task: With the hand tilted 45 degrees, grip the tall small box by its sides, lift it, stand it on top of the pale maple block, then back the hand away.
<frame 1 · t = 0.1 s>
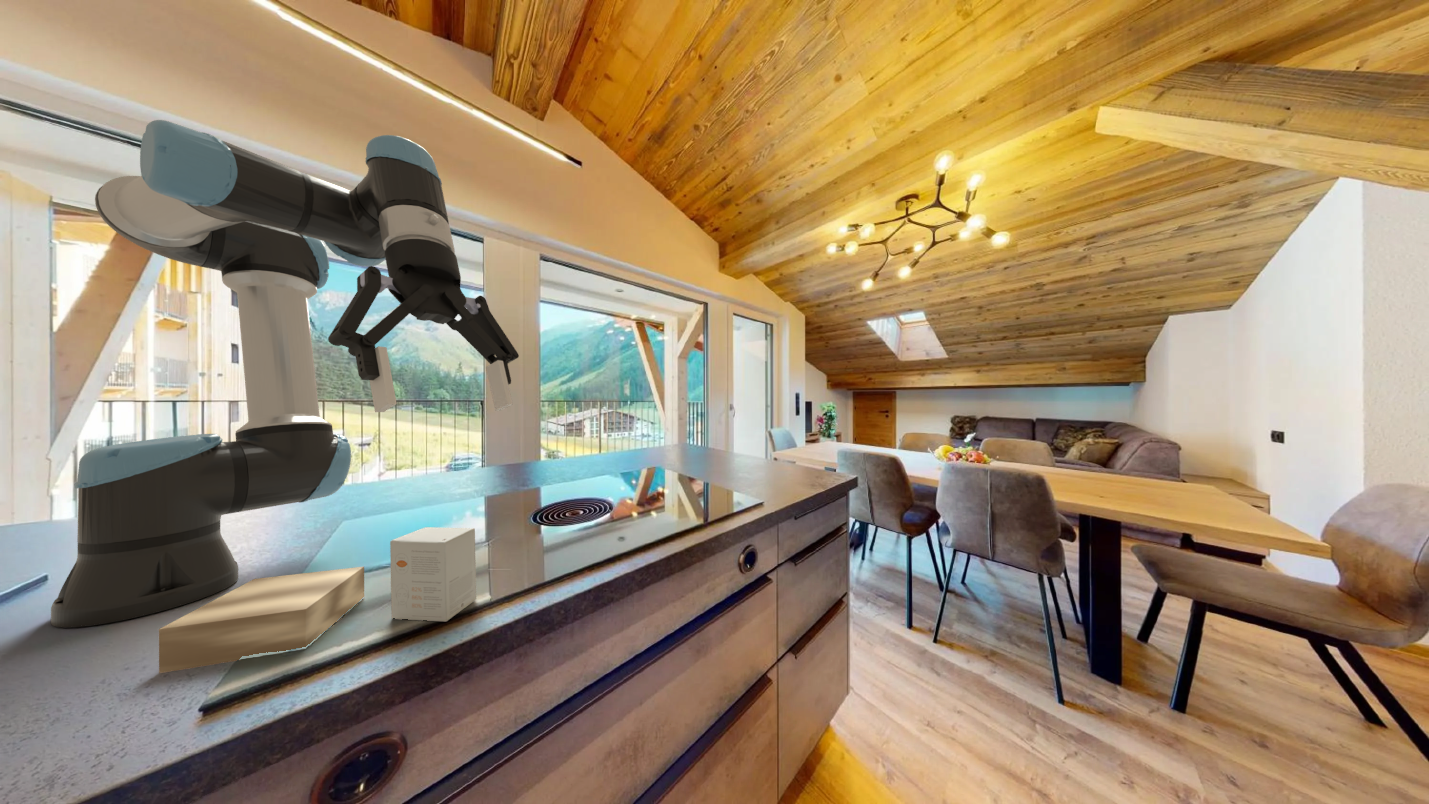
hand: (452, 408, 46), 28 cm above the worktop, tool tilted 20°, fingers open, 13 cm apart
maple block: (278, 632, 47), on the worktop
small box: (435, 611, 52), on the worktop
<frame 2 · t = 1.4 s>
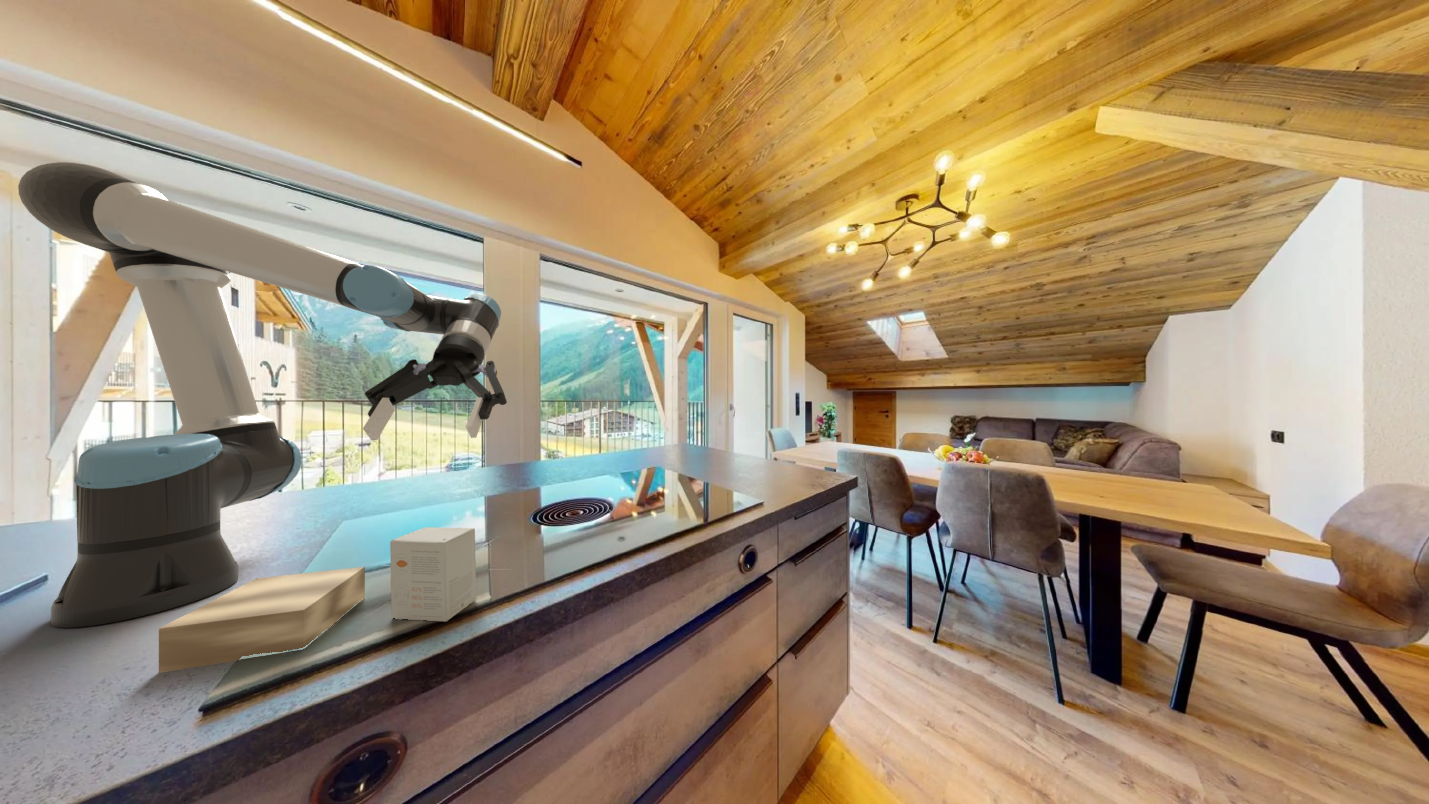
hand: (421, 433, 58), 24 cm above the worktop, tool tilted 45°, fingers open, 13 cm apart
nothing on the worktop moved.
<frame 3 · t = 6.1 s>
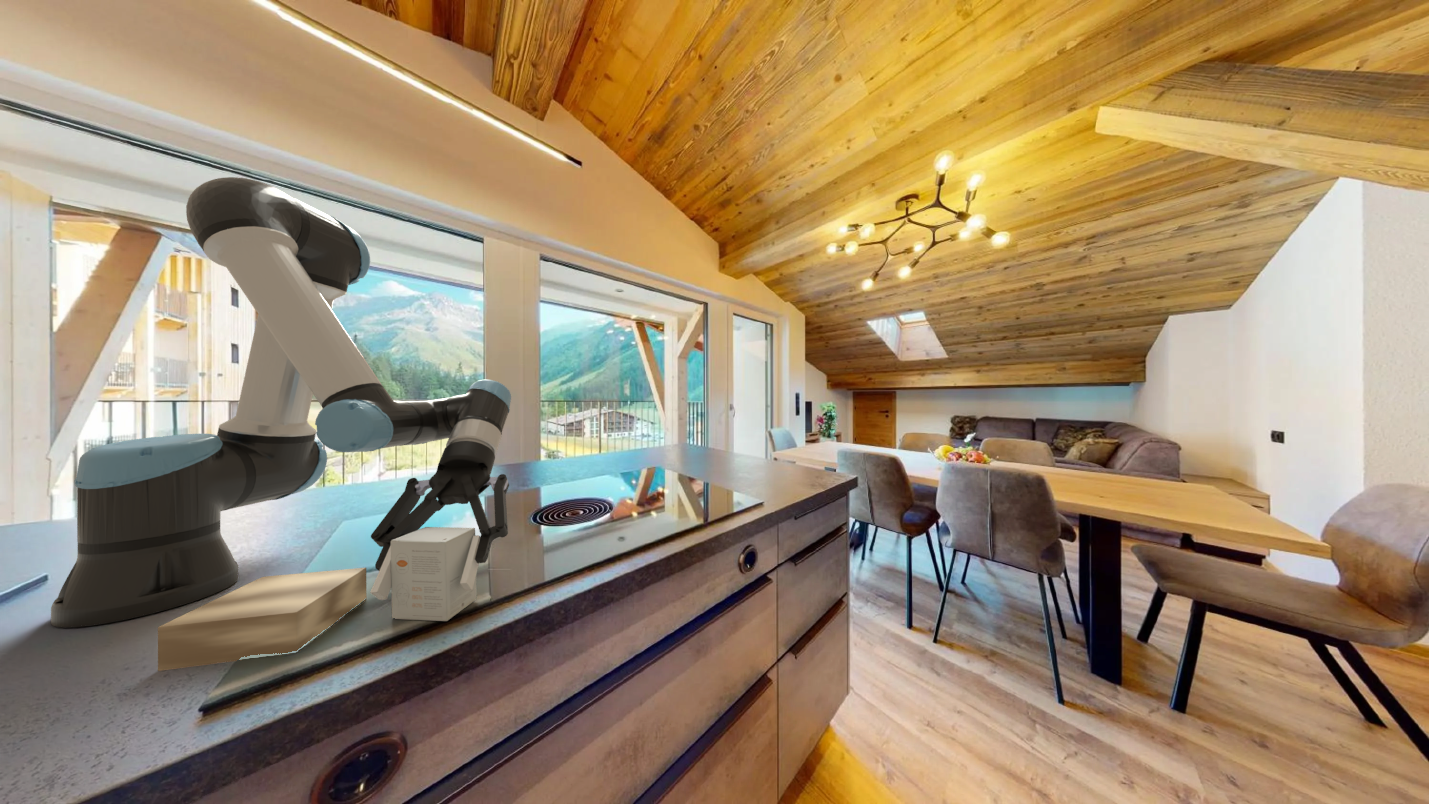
hand: (423, 591, 49), 4 cm above the worktop, tool tilted 45°, fingers closed on small box, 9 cm apart
small box: (435, 611, 52), on the worktop, touching gripper
everything else where it was.
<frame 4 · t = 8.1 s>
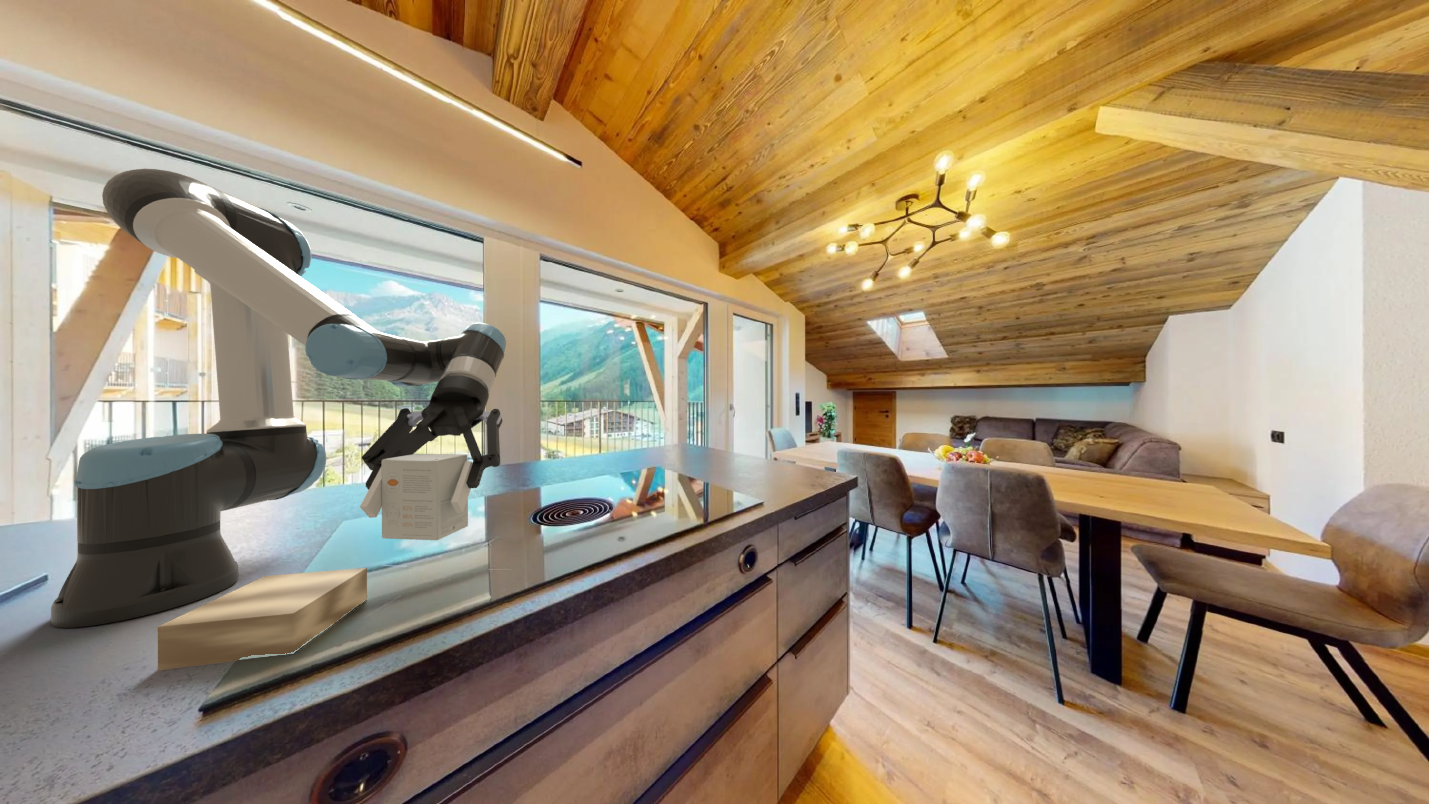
hand: (413, 509, 49), 15 cm above the worktop, tool tilted 45°, fingers closed on small box, 9 cm apart
small box: (426, 534, 52), point 10 cm above the worktop, touching gripper
everything else where it was.
when the fingers open (10 cm above the worktop, at t = 10.5 s): small box drops 2 cm, resting on maple block.
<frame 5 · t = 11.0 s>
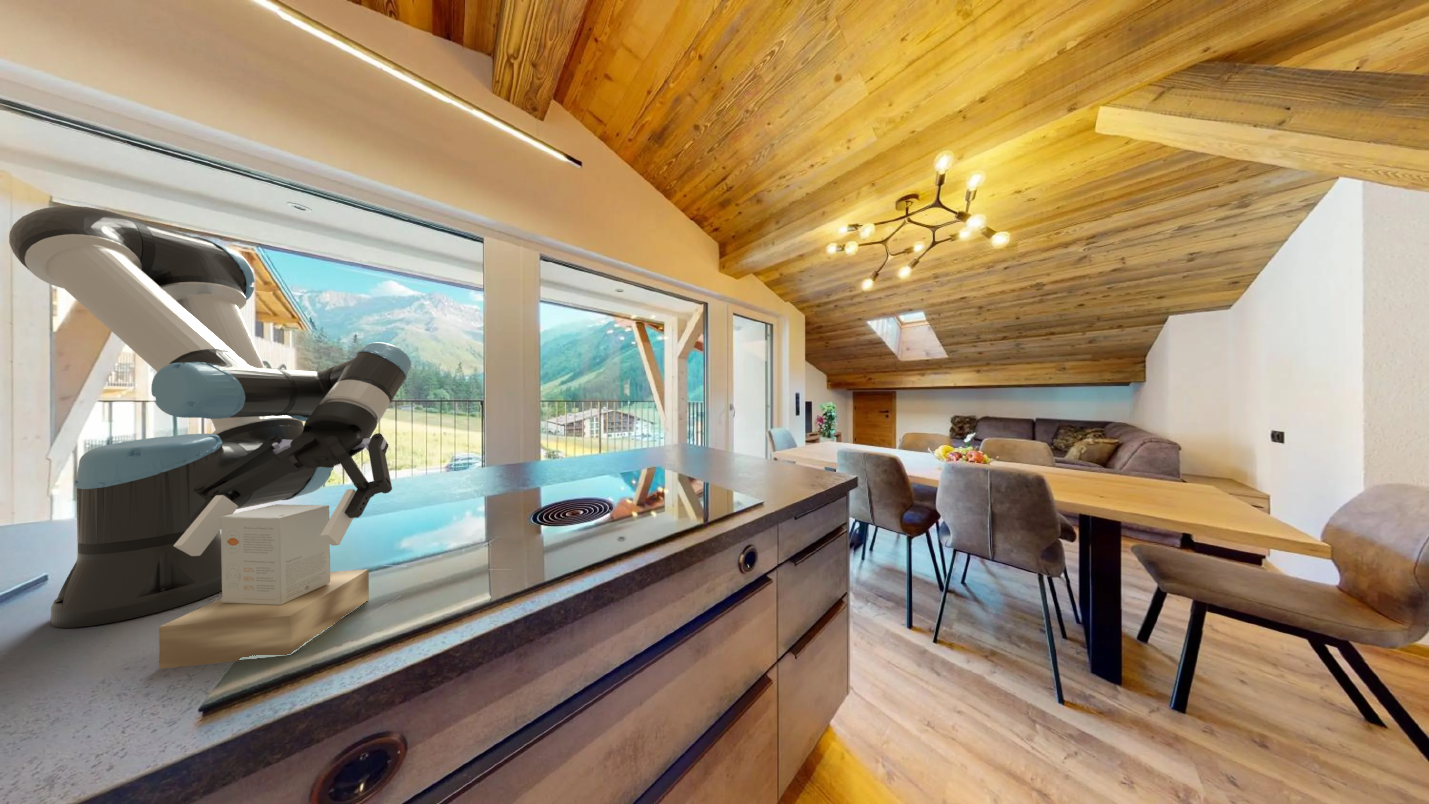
hand: (260, 545, 45), 11 cm above the worktop, tool tilted 45°, fingers open, 13 cm apart
maple block: (279, 633, 47), on the worktop, touching small box
small box: (278, 594, 48), point 4 cm above the worktop, touching maple block
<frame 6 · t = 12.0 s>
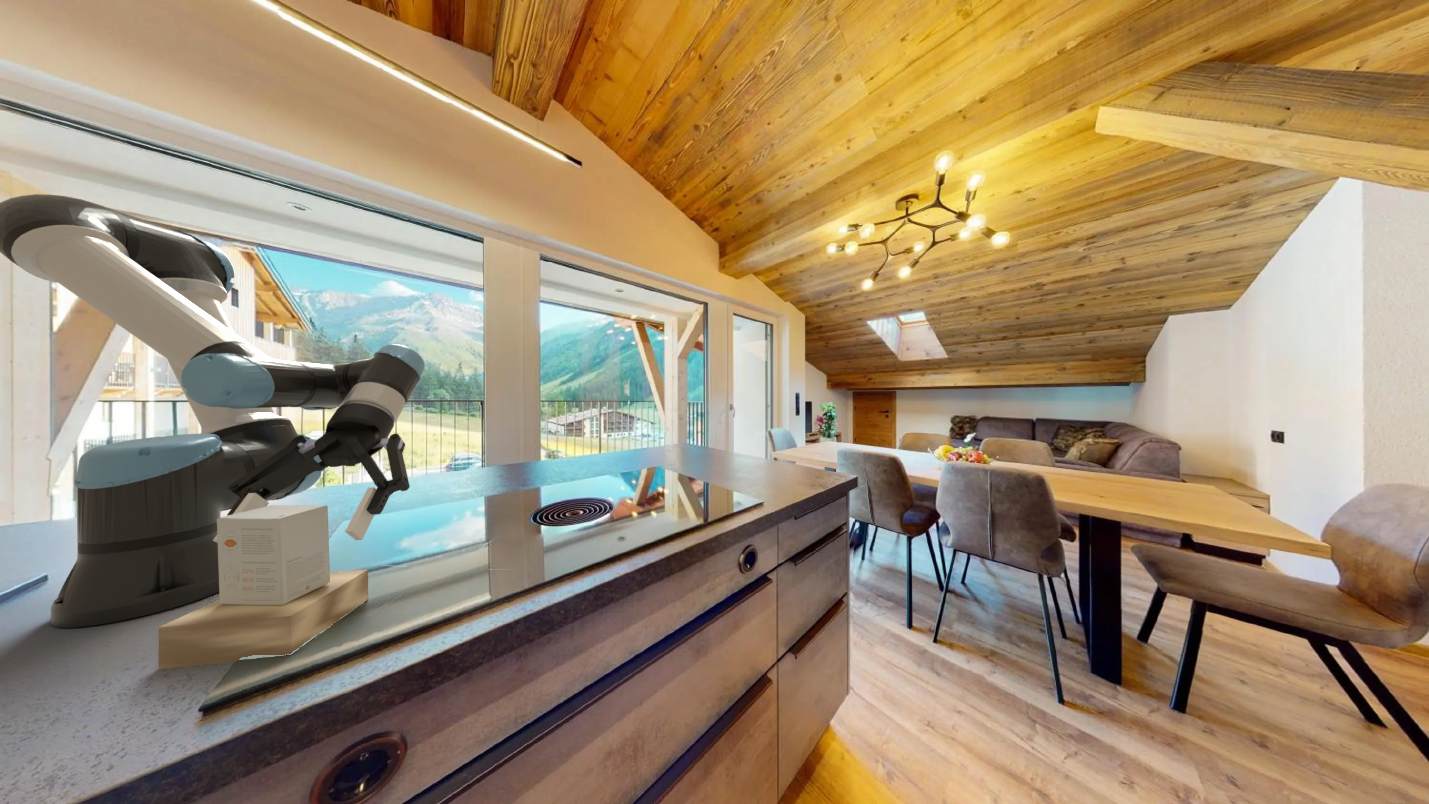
hand: (291, 540, 49), 11 cm above the worktop, tool tilted 45°, fingers open, 13 cm apart
maple block: (278, 633, 47), on the worktop
small box: (277, 595, 47), point 4 cm above the worktop
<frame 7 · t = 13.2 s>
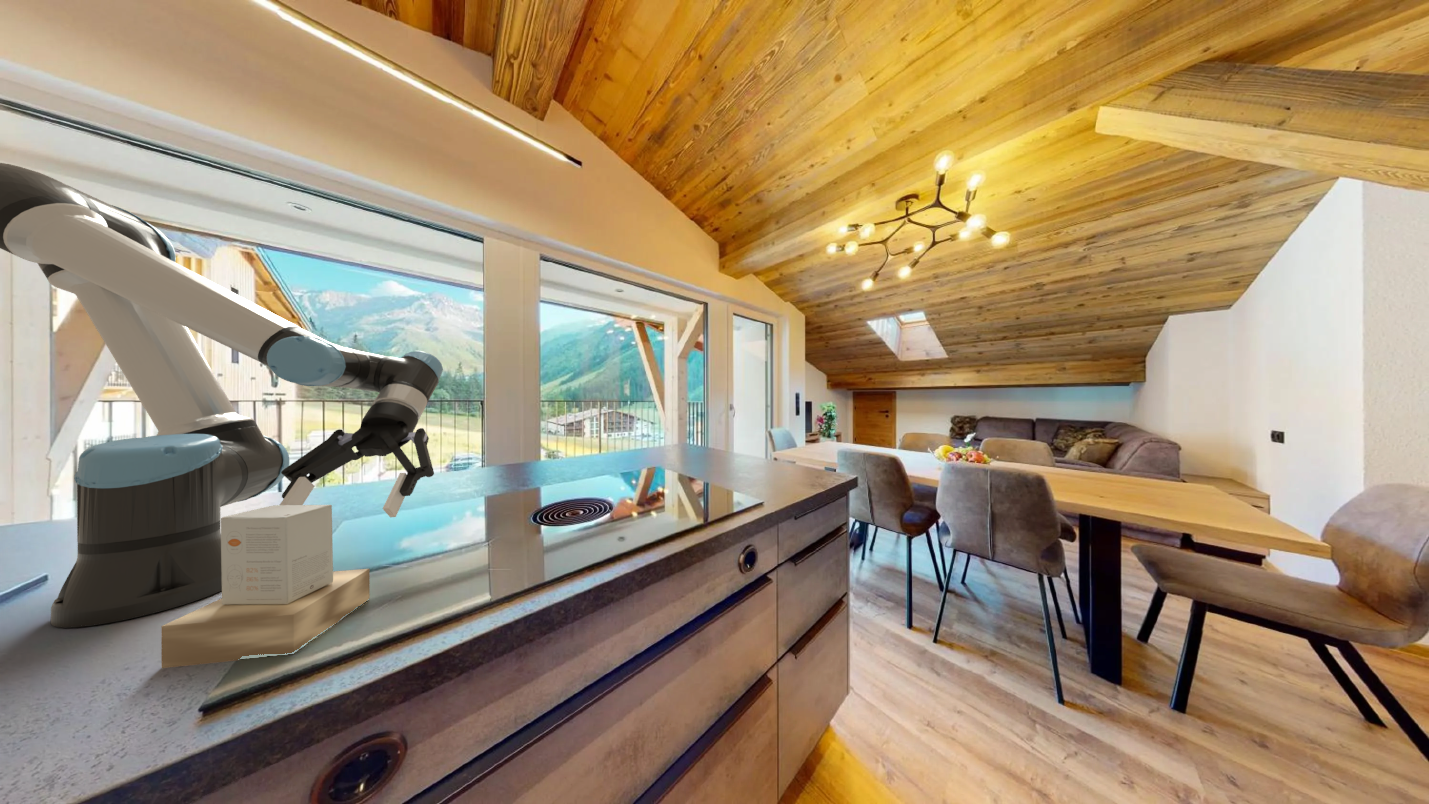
hand: (336, 516, 57), 11 cm above the worktop, tool tilted 45°, fingers open, 13 cm apart
maple block: (280, 632, 48), on the worktop, touching small box
small box: (280, 595, 47), point 4 cm above the worktop, touching maple block
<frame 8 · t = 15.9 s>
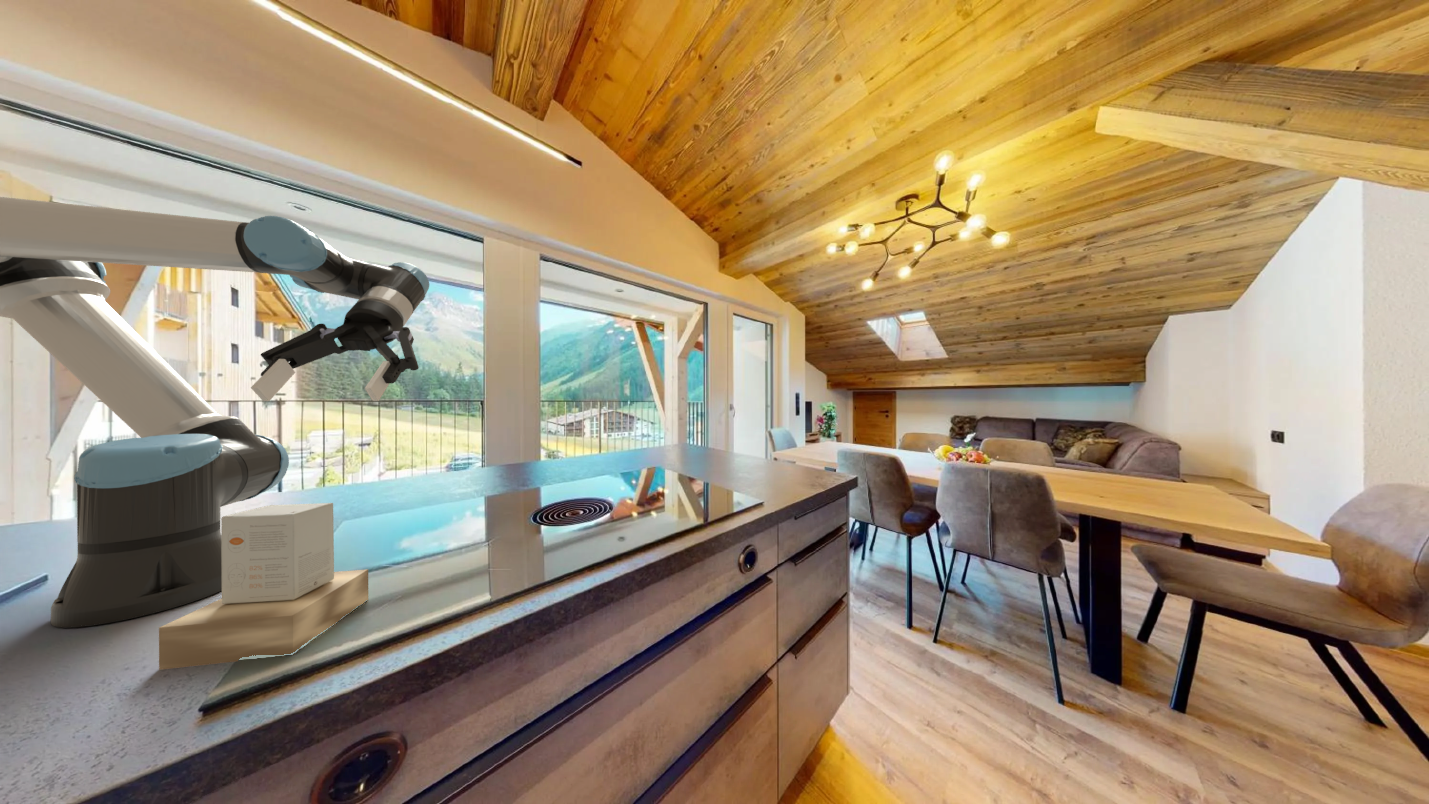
hand: (317, 394, 56), 30 cm above the worktop, tool tilted 45°, fingers open, 13 cm apart
at the end: small box inside the target area on the maple block (0.5 cm from its centre), point 4.8 cm above the maple block's base; small box tilted 1°; small box touching maple block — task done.
